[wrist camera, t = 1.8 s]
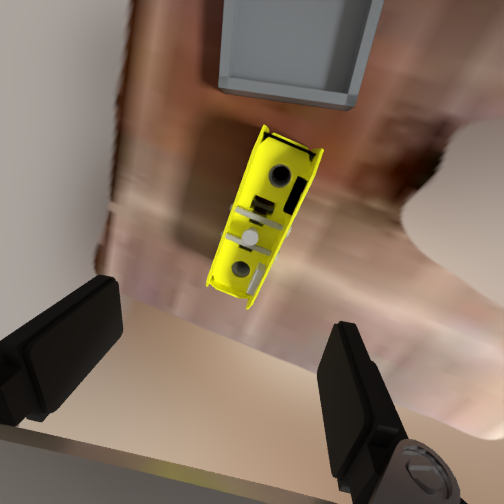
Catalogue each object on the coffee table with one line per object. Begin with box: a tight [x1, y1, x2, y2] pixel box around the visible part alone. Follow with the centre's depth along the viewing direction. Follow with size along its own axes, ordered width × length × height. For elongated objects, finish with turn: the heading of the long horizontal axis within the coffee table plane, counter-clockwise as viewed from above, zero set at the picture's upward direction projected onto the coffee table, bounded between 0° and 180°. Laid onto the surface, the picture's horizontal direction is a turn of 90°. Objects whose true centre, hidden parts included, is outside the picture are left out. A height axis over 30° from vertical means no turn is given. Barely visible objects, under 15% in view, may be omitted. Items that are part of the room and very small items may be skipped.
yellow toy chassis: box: [206, 125, 324, 310], centre depth 23 cm, size 16×6×8 cm, turn 159°
